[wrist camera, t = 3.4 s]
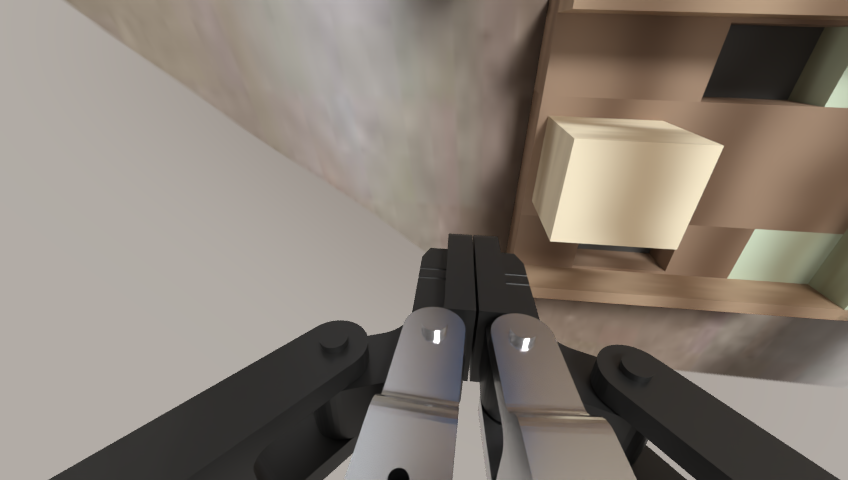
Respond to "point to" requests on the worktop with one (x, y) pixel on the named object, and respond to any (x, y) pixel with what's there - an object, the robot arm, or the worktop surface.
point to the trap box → (717, 121)
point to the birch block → (620, 181)
